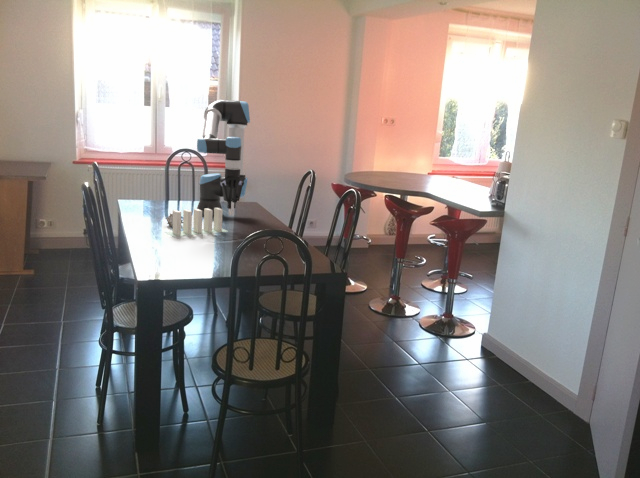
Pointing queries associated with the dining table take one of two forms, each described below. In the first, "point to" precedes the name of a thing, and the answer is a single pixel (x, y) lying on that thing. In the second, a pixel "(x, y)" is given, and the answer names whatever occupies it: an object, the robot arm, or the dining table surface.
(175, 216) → the domino
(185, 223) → the domino
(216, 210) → the domino
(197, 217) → the domino
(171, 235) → the board
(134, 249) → the dining table surface
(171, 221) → the game die
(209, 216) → the domino
